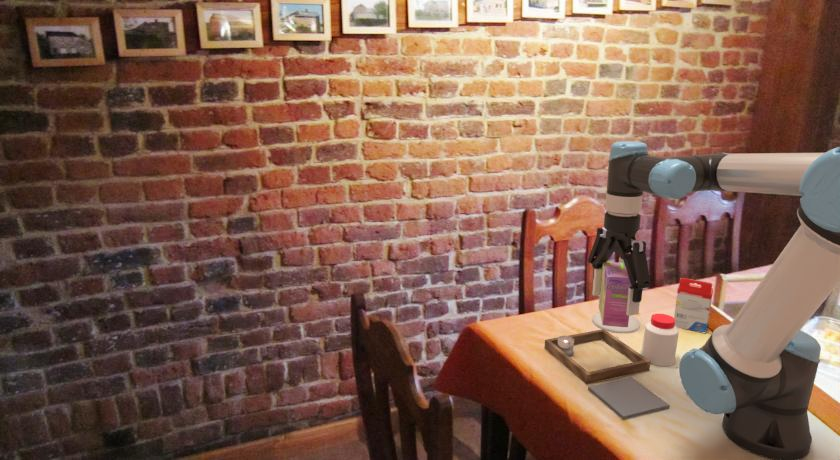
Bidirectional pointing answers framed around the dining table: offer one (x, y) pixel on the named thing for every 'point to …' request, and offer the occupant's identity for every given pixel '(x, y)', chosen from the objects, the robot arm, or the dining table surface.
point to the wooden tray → (603, 374)
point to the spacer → (566, 344)
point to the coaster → (628, 398)
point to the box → (614, 294)
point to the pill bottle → (660, 340)
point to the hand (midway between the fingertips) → (614, 304)
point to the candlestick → (632, 326)
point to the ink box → (693, 305)
